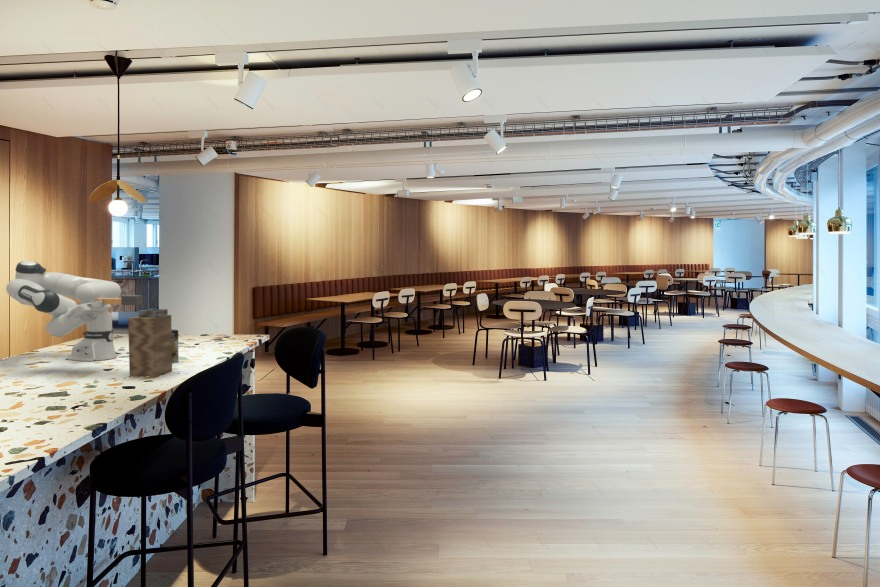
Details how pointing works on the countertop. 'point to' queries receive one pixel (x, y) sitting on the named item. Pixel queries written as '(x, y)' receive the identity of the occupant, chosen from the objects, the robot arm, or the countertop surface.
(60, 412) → the countertop surface
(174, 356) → the coffee box
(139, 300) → the handled tool
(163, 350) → the stand
